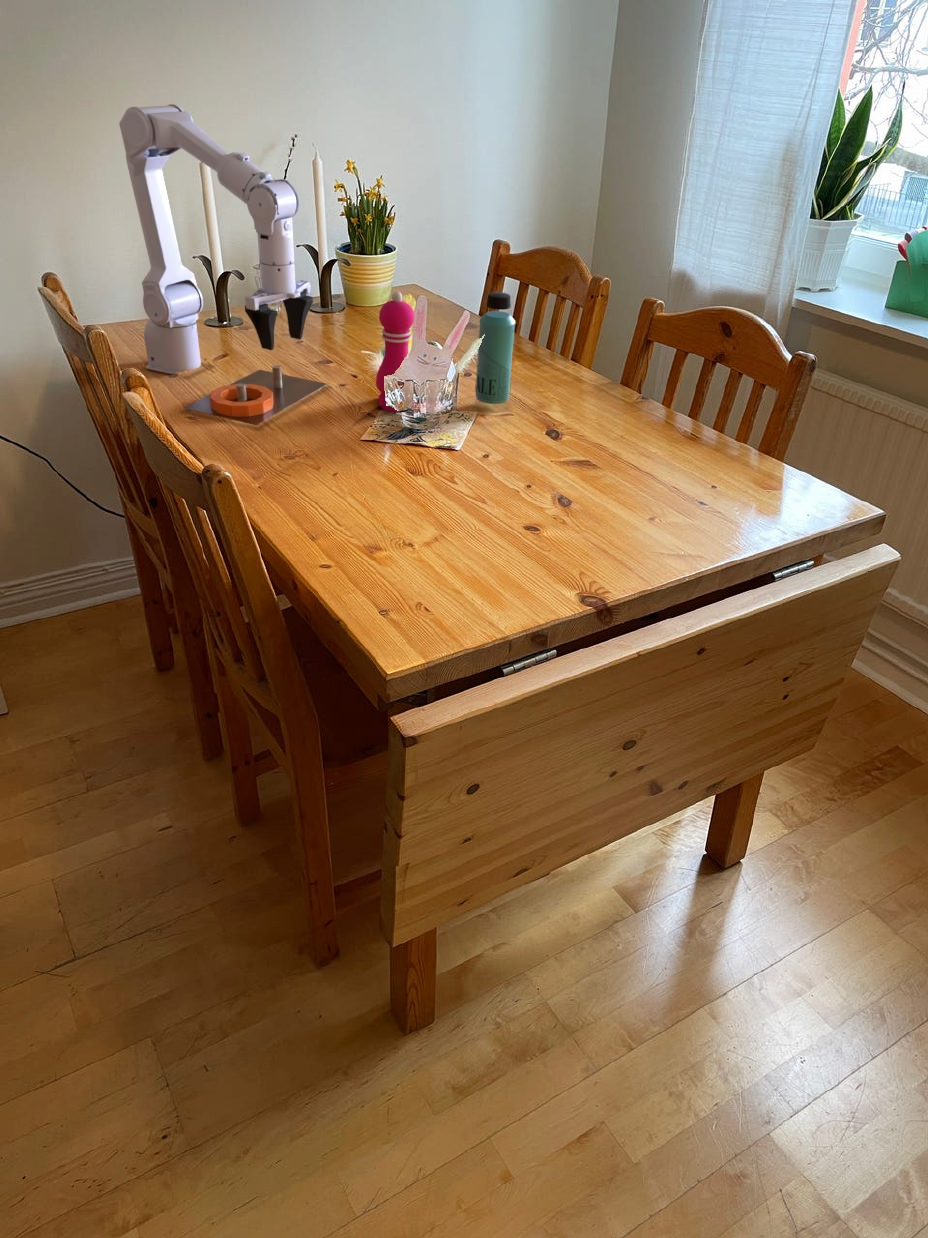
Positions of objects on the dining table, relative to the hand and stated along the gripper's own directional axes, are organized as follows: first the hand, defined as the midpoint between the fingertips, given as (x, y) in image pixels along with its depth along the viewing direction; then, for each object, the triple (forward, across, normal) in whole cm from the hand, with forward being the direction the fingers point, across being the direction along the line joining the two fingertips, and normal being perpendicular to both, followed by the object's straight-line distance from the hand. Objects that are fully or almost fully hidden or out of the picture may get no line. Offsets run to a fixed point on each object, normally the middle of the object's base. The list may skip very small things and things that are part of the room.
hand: (282, 343), depth 156 cm
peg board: (+10, -4, +3) cm, 11 cm away
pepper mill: (+10, +9, -18) cm, 22 cm away
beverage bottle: (+10, +20, -32) cm, 39 cm away
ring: (+9, -9, +2) cm, 13 cm away
